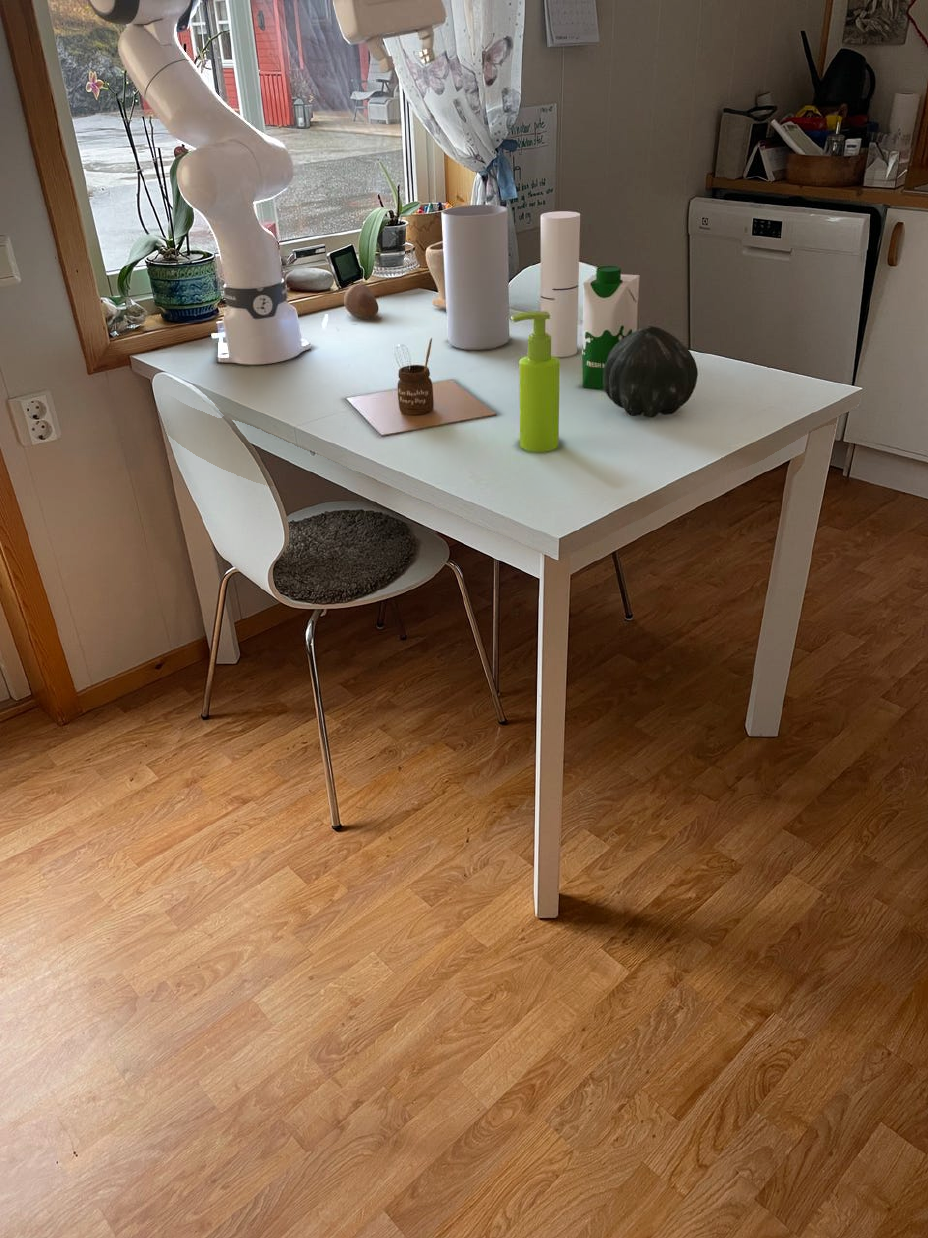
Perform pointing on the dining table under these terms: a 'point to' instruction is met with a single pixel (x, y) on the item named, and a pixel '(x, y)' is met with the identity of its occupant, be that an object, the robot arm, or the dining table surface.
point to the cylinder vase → (476, 275)
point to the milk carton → (606, 318)
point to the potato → (360, 301)
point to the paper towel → (447, 409)
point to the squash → (650, 373)
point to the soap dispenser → (538, 388)
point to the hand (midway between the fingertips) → (409, 66)
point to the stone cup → (437, 271)
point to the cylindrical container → (560, 279)
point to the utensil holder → (415, 388)
